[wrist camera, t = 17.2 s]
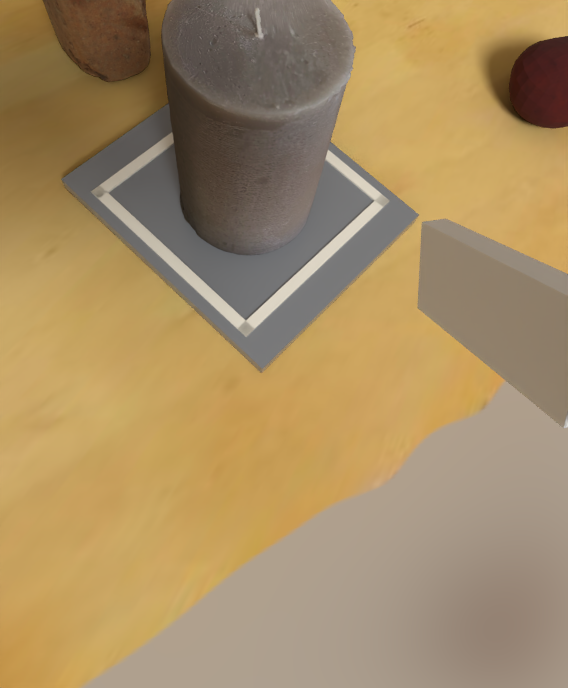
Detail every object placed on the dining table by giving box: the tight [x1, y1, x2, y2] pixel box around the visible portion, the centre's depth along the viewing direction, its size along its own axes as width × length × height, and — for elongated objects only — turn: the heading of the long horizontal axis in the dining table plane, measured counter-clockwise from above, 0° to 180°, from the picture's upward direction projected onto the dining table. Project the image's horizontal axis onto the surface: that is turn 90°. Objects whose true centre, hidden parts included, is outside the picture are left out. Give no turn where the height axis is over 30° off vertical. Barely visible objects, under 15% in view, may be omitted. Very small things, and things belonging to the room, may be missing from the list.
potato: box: [509, 36, 568, 128], centre depth 43 cm, size 8×9×6 cm
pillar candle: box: [161, 0, 356, 255], centre depth 32 cm, size 10×10×15 cm
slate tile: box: [61, 103, 419, 373], centre depth 39 cm, size 20×17×1 cm
